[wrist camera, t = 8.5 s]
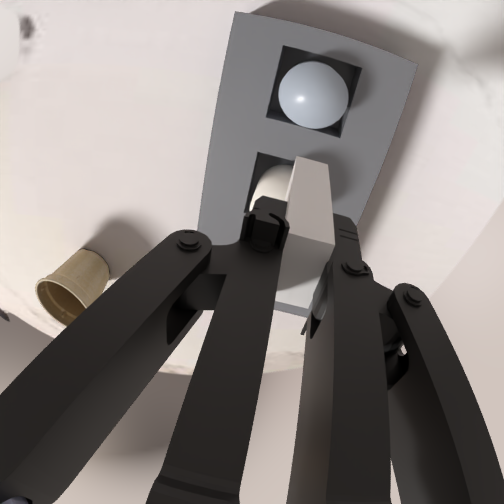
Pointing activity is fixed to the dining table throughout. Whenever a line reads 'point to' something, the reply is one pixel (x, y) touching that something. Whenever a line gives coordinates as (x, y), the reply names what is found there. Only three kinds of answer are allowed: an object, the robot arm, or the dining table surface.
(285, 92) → the slate key
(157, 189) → the dining table surface
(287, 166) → the ivory key
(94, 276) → the flower pot
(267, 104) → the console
